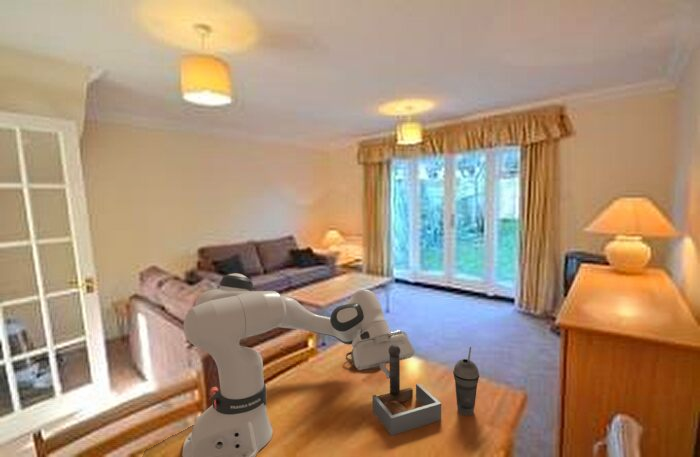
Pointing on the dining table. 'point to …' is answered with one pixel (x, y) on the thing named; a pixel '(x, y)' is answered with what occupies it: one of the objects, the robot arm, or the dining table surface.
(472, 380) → the beverage cup
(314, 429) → the dining table surface
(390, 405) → the shard
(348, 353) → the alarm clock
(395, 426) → the box
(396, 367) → the ball-topped joystick
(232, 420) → the robot arm
